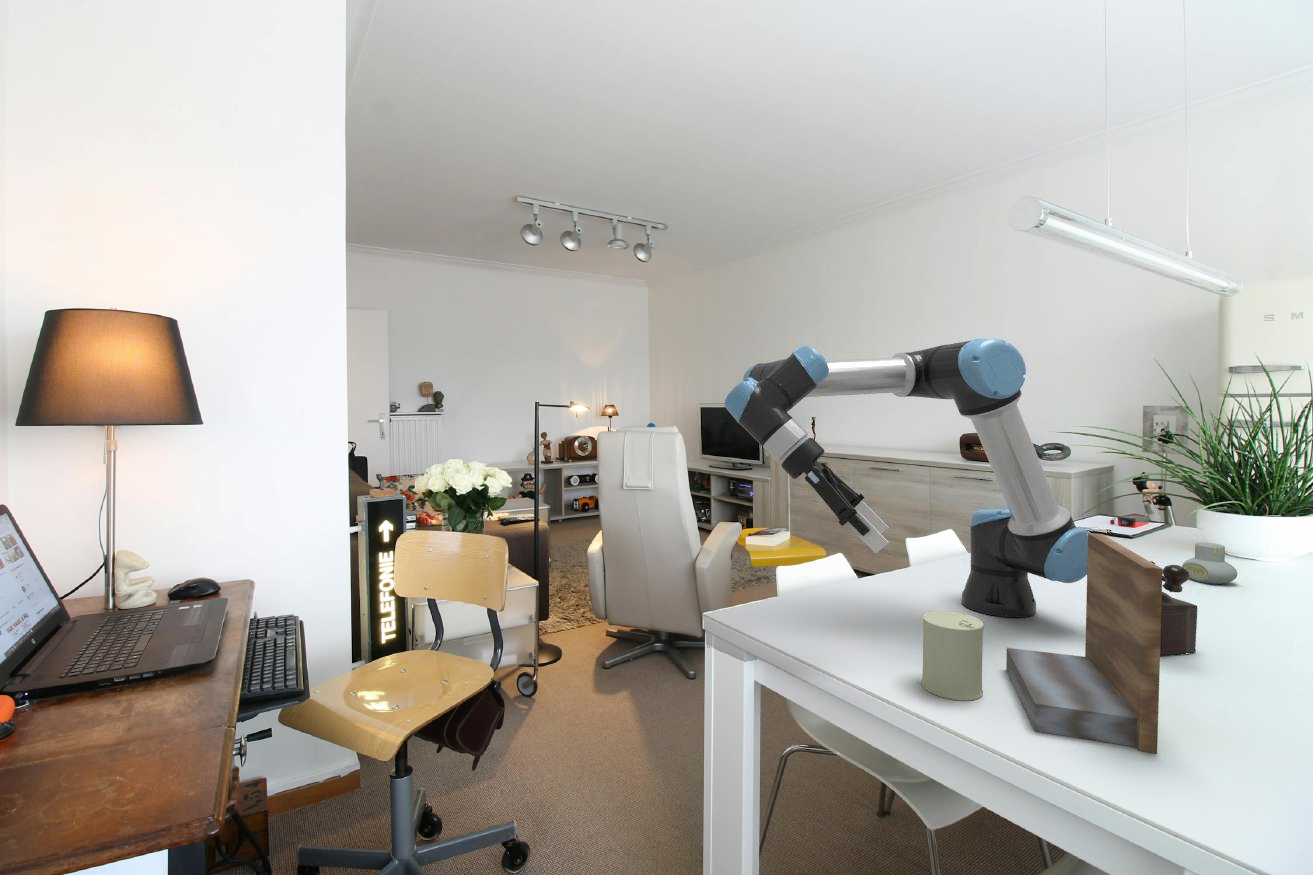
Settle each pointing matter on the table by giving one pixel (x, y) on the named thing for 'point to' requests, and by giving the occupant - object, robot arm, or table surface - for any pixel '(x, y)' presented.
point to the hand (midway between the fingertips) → (882, 539)
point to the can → (952, 655)
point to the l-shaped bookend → (1102, 658)
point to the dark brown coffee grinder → (1177, 615)
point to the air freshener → (1210, 564)
